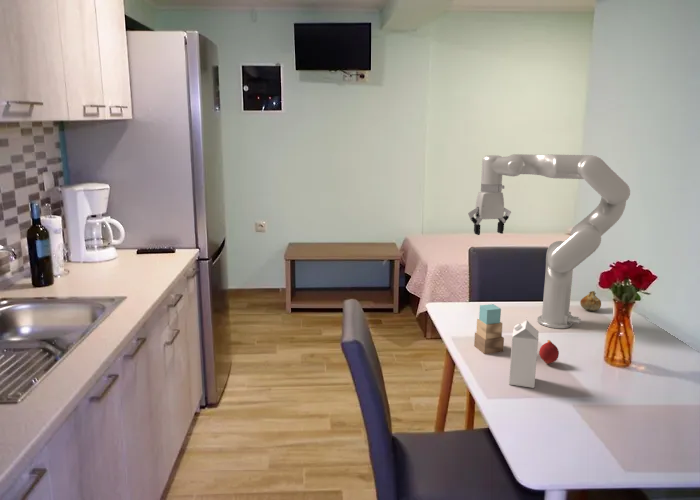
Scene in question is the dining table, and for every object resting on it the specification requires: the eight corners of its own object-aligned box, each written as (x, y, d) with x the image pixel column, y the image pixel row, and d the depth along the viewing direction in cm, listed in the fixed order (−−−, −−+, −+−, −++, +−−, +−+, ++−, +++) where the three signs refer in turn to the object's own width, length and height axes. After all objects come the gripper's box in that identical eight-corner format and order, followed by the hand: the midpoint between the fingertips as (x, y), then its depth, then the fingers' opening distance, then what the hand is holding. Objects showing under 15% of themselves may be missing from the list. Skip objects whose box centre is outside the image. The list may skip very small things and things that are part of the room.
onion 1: (558, 362, 180) (560, 338, 178) (556, 369, 175) (558, 344, 173) (539, 358, 182) (541, 335, 180) (537, 365, 177) (539, 341, 175)
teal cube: (492, 318, 191) (493, 304, 190) (500, 323, 186) (500, 308, 185) (479, 319, 189) (479, 305, 188) (486, 324, 185) (487, 310, 184)
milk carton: (534, 378, 168) (539, 318, 164) (534, 388, 162) (539, 326, 157) (510, 374, 171) (514, 315, 166) (508, 385, 164) (512, 323, 160)
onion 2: (575, 307, 232) (577, 289, 230) (594, 307, 232) (596, 288, 231) (585, 313, 224) (587, 294, 222) (604, 313, 225) (606, 294, 223)
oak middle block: (491, 331, 193) (492, 317, 191) (501, 337, 187) (502, 323, 186) (476, 333, 191) (477, 319, 190) (485, 339, 185) (486, 325, 184)
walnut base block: (492, 344, 194) (493, 330, 193) (503, 352, 188) (504, 338, 186) (474, 346, 192) (474, 332, 191) (484, 354, 186) (485, 340, 185)
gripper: (506, 187, 216) (503, 230, 219) (465, 188, 211) (463, 233, 215) (517, 189, 209) (514, 234, 212) (474, 190, 204) (472, 236, 208)
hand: (488, 233), depth 214 cm, fingers open, 9 cm apart
